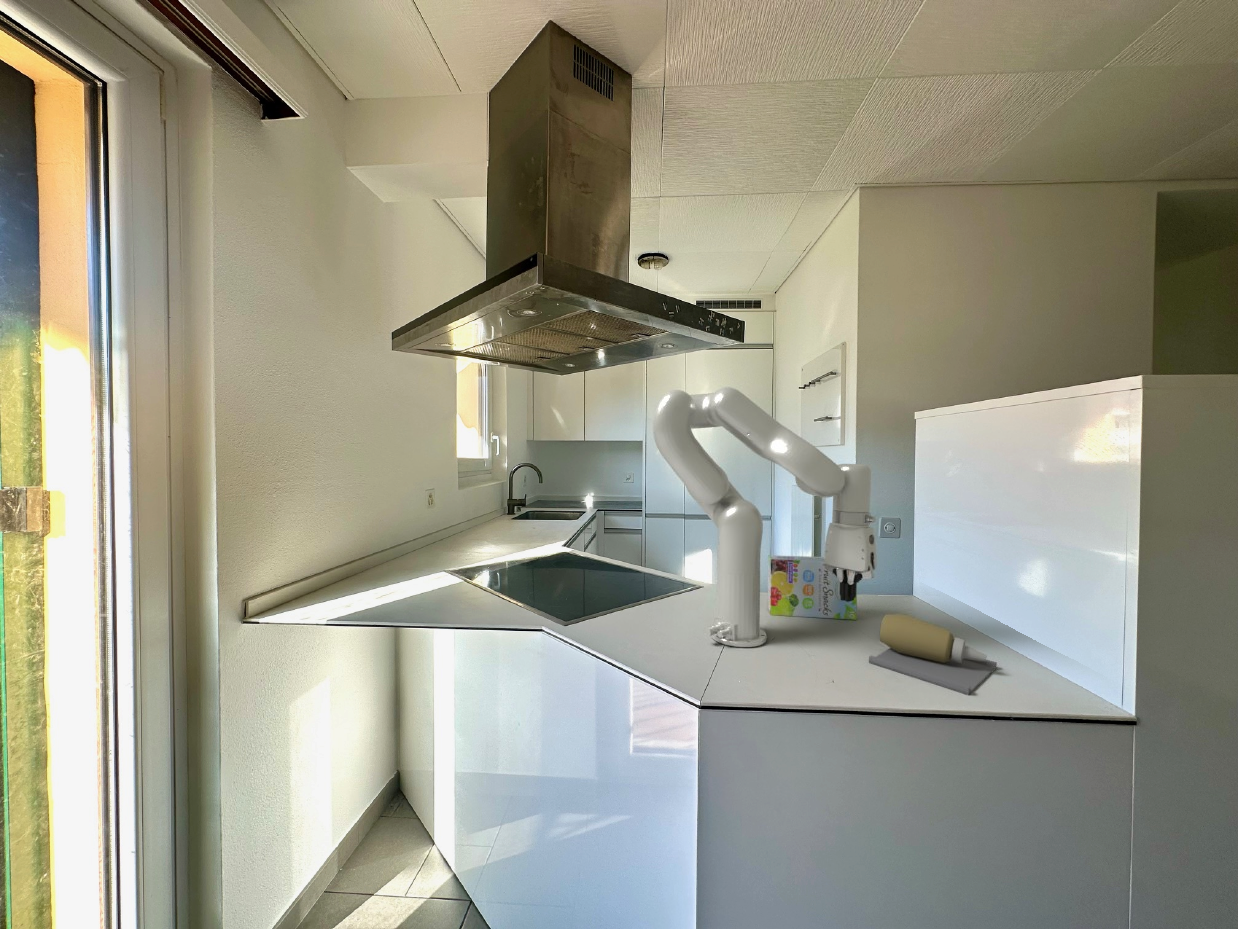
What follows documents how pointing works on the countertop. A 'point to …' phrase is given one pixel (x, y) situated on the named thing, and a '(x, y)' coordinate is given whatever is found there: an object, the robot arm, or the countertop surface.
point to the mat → (937, 670)
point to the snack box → (806, 589)
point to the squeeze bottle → (924, 640)
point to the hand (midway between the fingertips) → (847, 600)
